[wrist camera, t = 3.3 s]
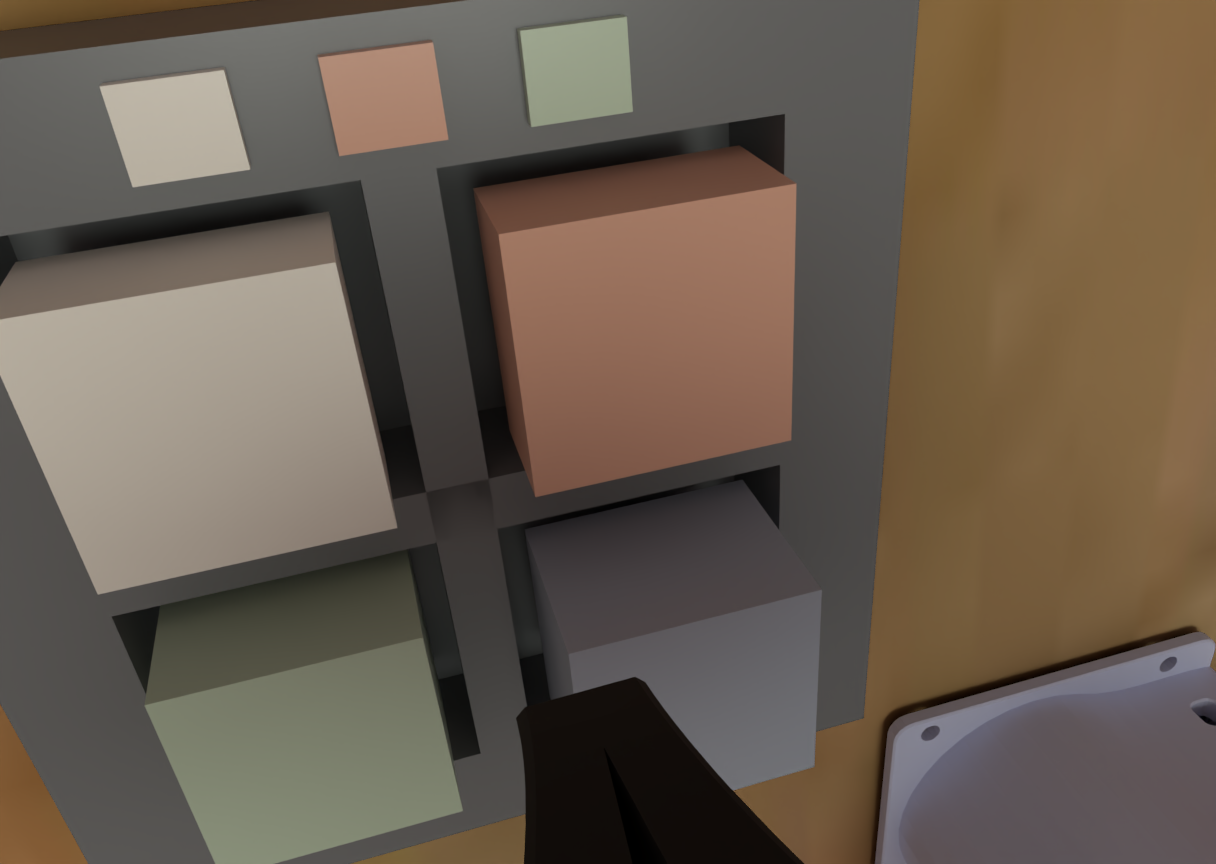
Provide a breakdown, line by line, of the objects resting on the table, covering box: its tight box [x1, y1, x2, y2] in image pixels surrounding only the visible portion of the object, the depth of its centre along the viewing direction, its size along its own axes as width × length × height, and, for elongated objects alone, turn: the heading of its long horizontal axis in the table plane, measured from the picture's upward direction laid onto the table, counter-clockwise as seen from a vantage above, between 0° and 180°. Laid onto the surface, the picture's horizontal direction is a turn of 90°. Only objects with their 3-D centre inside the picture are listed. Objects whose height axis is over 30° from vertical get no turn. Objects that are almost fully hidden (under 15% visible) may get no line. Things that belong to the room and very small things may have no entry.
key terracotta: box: [473, 145, 796, 497], centre depth 15 cm, size 4×4×2 cm
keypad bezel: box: [0, 0, 919, 864], centre depth 17 cm, size 15×15×3 cm
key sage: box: [144, 549, 463, 864], centre depth 17 cm, size 4×4×3 cm
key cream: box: [0, 212, 397, 595], centre depth 14 cm, size 4×4×2 cm
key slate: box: [525, 480, 822, 790], centre depth 17 cm, size 4×4×3 cm
